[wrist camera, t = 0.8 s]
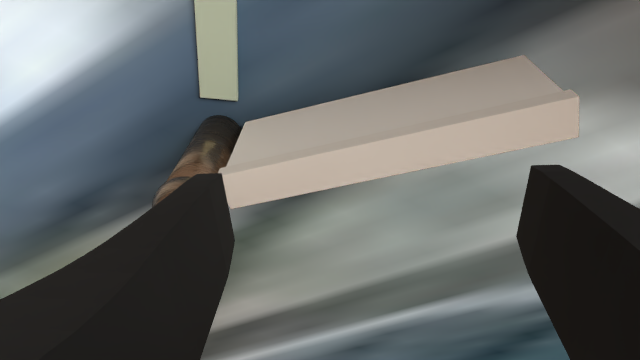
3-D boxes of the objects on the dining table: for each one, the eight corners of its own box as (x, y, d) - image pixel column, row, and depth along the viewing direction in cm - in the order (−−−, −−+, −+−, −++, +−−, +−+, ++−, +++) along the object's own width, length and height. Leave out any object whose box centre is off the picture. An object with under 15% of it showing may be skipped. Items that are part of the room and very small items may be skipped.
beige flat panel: (252, 148, 21) (230, 209, 17) (241, 120, 20) (215, 176, 16) (529, 85, 19) (578, 137, 15) (527, 51, 18) (578, 96, 14)
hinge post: (245, 115, 21) (207, 202, 15) (245, 159, 22) (210, 254, 16) (195, 111, 20) (138, 195, 15) (198, 154, 22) (146, 248, 16)
